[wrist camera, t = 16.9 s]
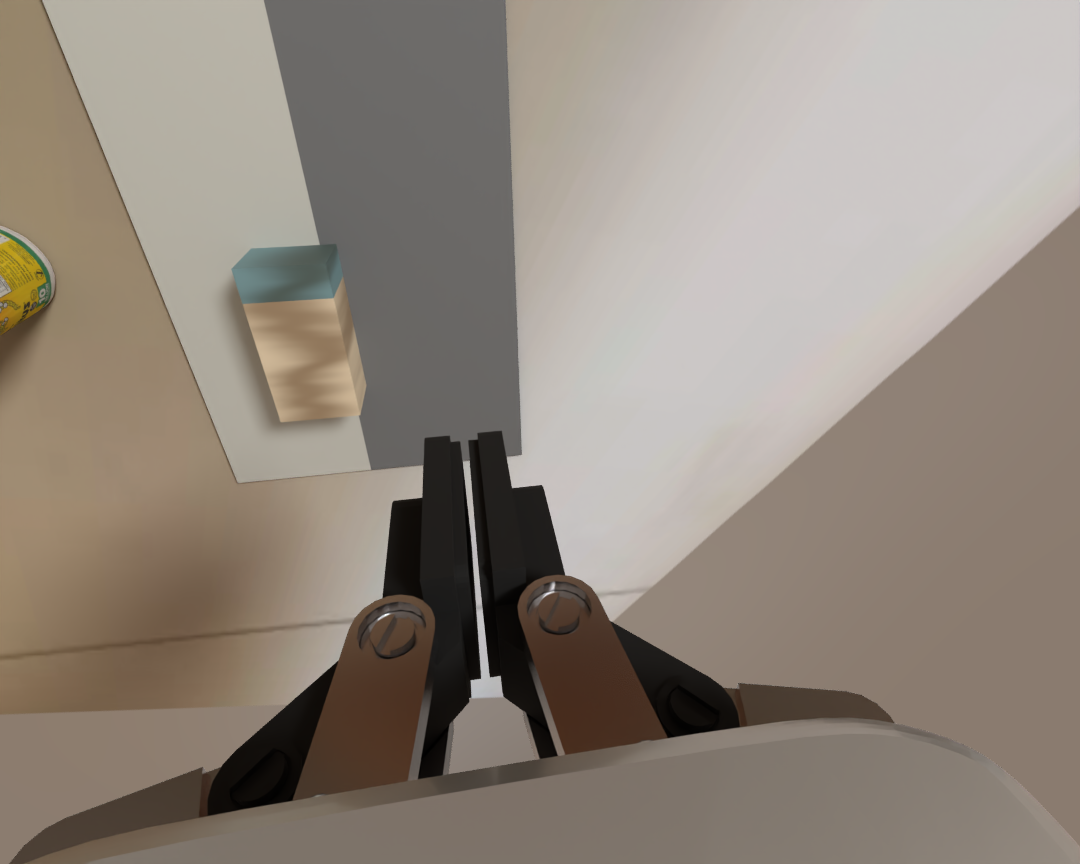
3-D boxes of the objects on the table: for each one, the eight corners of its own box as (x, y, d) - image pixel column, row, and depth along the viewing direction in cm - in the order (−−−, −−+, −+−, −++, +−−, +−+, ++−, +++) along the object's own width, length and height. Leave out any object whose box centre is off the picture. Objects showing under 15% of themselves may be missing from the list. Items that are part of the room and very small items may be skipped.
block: (325, 263, 31) (360, 415, 37) (336, 244, 34) (366, 385, 40) (231, 268, 30) (280, 422, 36) (251, 248, 34) (293, 391, 39)
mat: (521, 451, 46) (521, 454, 45) (239, 479, 43) (237, 483, 43) (504, -15, 29) (504, -15, 29) (40, -16, 26) (35, -17, 26)
